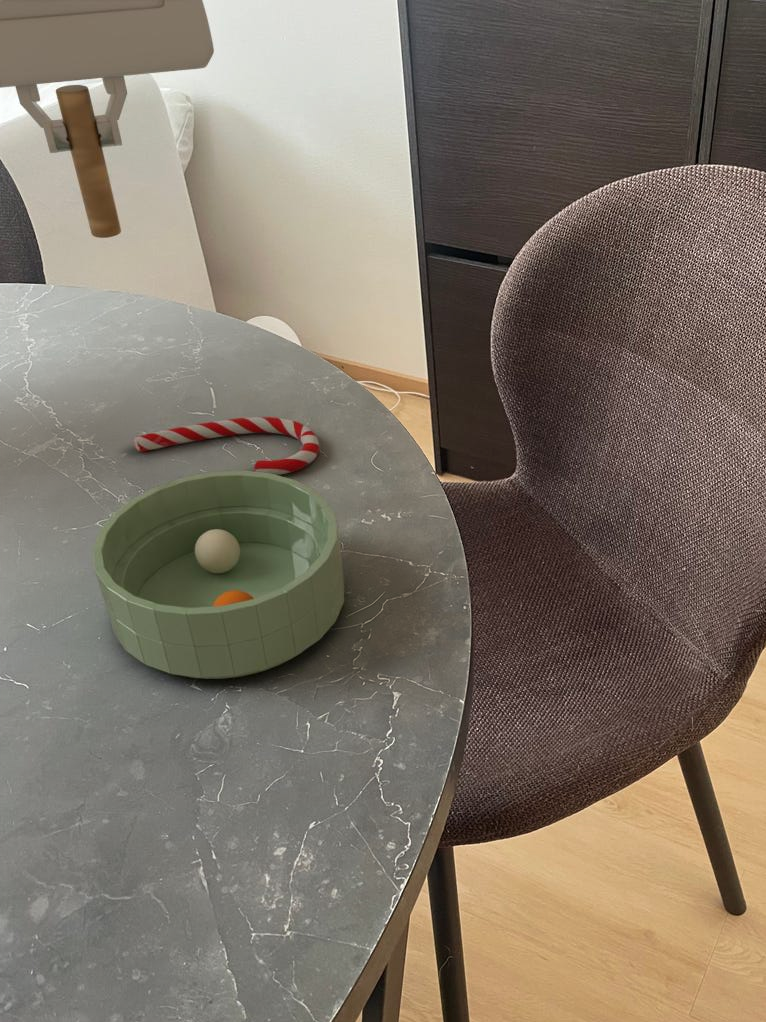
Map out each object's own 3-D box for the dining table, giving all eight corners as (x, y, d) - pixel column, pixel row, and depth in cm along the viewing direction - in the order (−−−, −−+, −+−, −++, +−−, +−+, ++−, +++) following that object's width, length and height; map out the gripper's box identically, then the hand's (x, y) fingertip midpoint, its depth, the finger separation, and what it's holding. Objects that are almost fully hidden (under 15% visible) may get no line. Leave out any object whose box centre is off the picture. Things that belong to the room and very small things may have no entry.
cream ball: (202, 586, 71) (194, 550, 69) (195, 560, 73) (187, 525, 71) (246, 576, 71) (240, 541, 69) (238, 551, 73) (232, 516, 71)
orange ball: (219, 651, 66) (211, 615, 64) (212, 622, 68) (204, 586, 66) (267, 640, 66) (260, 604, 64) (257, 612, 68) (251, 576, 66)
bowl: (127, 712, 63) (104, 637, 59) (105, 566, 73) (83, 495, 69) (371, 654, 67) (364, 580, 63) (316, 523, 77) (307, 454, 73)
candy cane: (140, 416, 86) (321, 413, 87) (143, 430, 87) (323, 426, 88) (120, 467, 81) (314, 463, 81) (124, 481, 81) (316, 477, 82)
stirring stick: (93, 239, 78) (56, 94, 72) (90, 230, 80) (54, 86, 73) (123, 235, 79) (89, 91, 72) (119, 226, 80) (86, 83, 74)
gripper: (186, -99, 71) (221, 119, 80) (-141, -82, 66) (-64, 151, 75) (202, -87, 67) (237, 143, 76) (-147, -67, 61) (-64, 178, 70)
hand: (85, 147), depth 75 cm, fingers closed on stirring stick, 2 cm apart
